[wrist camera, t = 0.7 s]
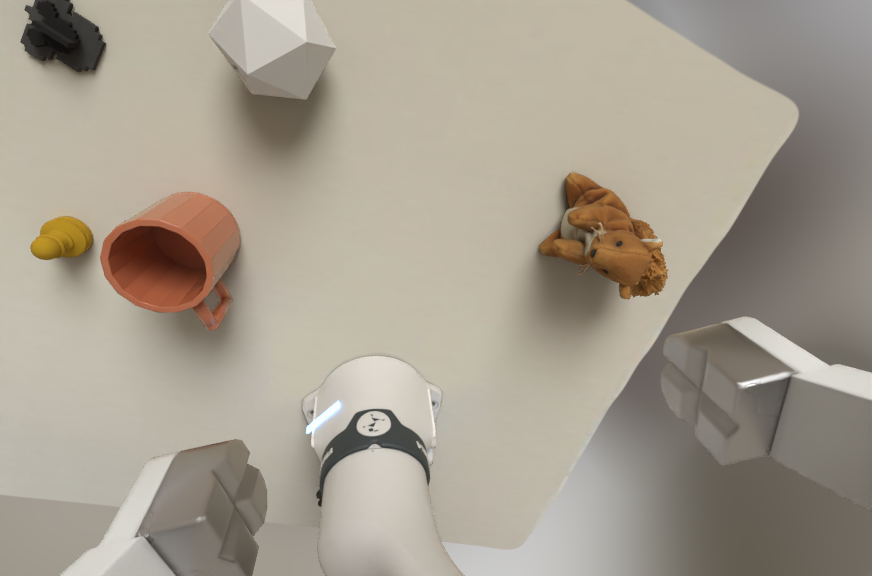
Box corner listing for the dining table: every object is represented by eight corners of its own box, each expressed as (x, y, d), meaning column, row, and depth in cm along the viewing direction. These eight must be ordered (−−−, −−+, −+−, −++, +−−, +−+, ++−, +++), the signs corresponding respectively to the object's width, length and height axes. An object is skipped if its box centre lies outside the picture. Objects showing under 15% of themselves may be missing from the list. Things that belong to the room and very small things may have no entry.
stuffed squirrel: (563, 166, 49) (626, 196, 37) (659, 209, 53) (742, 247, 41) (523, 245, 52) (569, 294, 40) (615, 279, 56) (681, 332, 45)
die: (230, -25, 37) (165, 33, 32) (312, -60, 34) (254, -2, 28) (288, 69, 44) (242, 130, 38) (362, 48, 40) (323, 112, 35)
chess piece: (101, 233, 45) (71, 251, 40) (81, 260, 45) (50, 280, 41) (60, 208, 43) (25, 223, 38) (41, 235, 44) (4, 254, 39)
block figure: (71, 87, 37) (-5, 41, 35) (87, 86, 39) (16, 43, 37) (98, 22, 35) (19, -30, 33) (113, 25, 37) (40, -24, 35)
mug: (131, 209, 44) (76, 241, 36) (212, 179, 44) (176, 204, 35) (199, 307, 50) (166, 355, 41) (271, 281, 50) (252, 324, 41)
